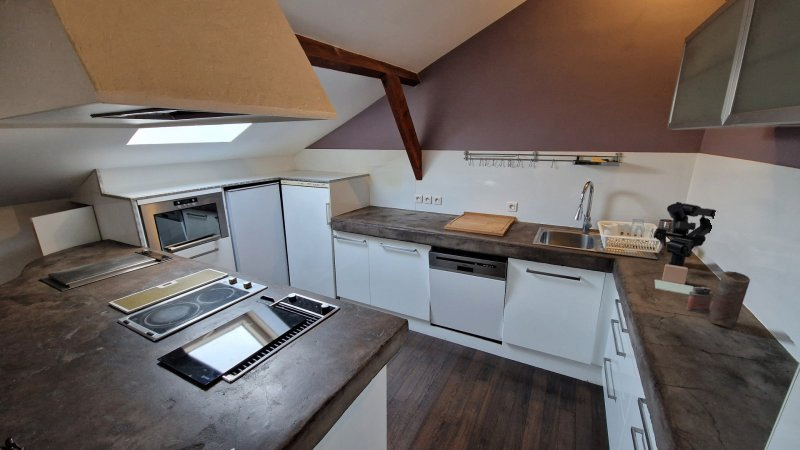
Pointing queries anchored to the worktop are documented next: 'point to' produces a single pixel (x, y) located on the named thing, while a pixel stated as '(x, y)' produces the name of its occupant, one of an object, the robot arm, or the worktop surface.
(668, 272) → the block
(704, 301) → the lighter
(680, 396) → the worktop surface
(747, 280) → the rusty brown metal cylinder
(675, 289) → the mat
